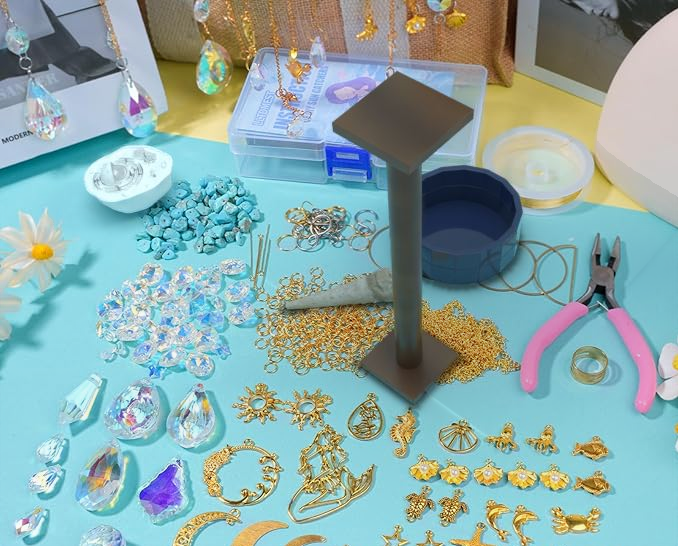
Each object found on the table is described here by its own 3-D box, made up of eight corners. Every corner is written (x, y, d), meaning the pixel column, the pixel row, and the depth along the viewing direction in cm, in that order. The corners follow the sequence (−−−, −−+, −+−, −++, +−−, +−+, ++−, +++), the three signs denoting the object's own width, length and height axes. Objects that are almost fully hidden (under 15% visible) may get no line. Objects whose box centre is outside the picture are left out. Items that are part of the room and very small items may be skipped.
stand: (405, 322, 98) (396, 70, 69) (458, 358, 95) (474, 109, 65) (360, 366, 95) (331, 122, 66) (413, 405, 92) (408, 165, 62)
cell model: (186, 213, 111) (173, 177, 106) (98, 234, 111) (80, 198, 105) (177, 163, 117) (164, 126, 112) (93, 182, 116) (76, 145, 111)
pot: (449, 182, 111) (450, 148, 106) (540, 233, 104) (546, 200, 99) (377, 247, 105) (374, 215, 100) (469, 306, 99) (471, 274, 94)
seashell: (417, 302, 100) (416, 286, 96) (290, 328, 100) (283, 313, 96) (410, 272, 102) (408, 254, 98) (285, 298, 102) (278, 281, 98)
